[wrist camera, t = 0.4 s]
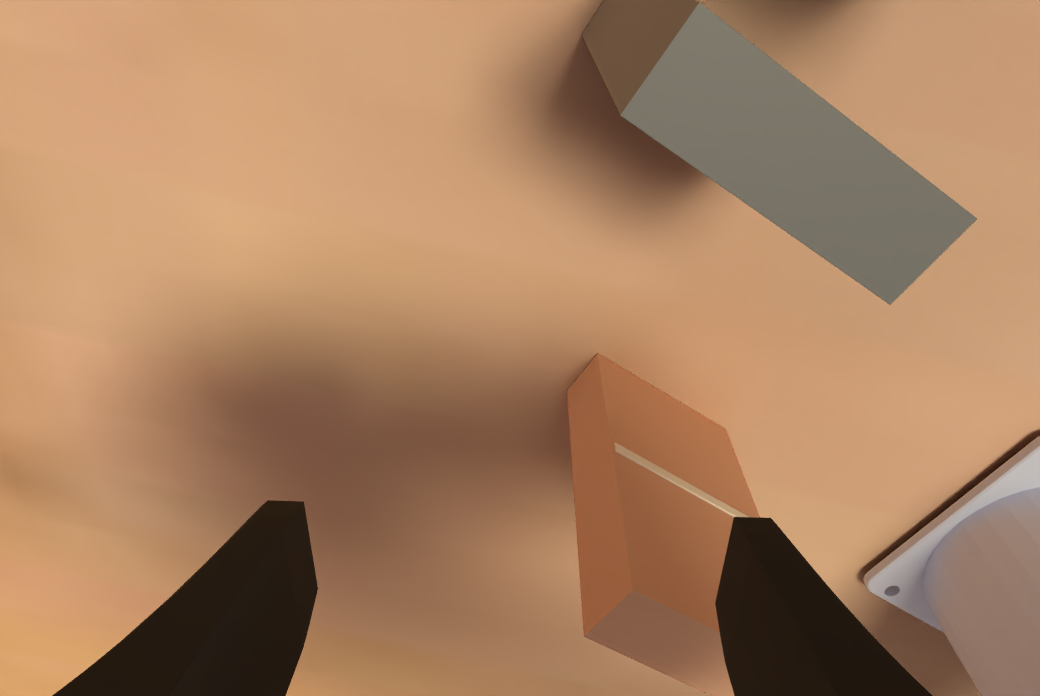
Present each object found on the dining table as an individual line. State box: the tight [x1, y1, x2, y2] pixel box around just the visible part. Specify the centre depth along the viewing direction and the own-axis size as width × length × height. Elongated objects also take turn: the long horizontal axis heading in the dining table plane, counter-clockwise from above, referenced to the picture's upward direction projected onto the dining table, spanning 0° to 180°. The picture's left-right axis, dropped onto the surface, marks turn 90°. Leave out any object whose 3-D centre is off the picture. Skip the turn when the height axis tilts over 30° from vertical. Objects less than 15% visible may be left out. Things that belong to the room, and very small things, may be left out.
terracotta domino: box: [567, 353, 760, 696], centre depth 19 cm, size 5×2×9 cm, turn 57°
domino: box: [582, 0, 977, 305], centre depth 14 cm, size 5×2×9 cm, turn 57°
